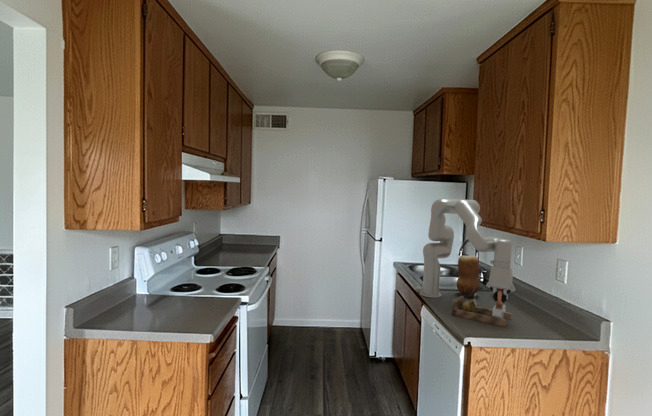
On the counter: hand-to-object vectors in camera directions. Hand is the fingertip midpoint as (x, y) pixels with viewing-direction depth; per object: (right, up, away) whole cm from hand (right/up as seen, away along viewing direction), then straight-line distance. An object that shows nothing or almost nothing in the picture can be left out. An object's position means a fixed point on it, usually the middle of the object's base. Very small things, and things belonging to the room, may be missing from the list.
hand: (499, 301), depth 185 cm
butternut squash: (+1, -8, +44) cm, 44 cm away
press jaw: (0, -9, 0) cm, 9 cm away
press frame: (-7, -9, +5) cm, 13 cm away
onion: (-12, -9, +8) cm, 17 cm away
